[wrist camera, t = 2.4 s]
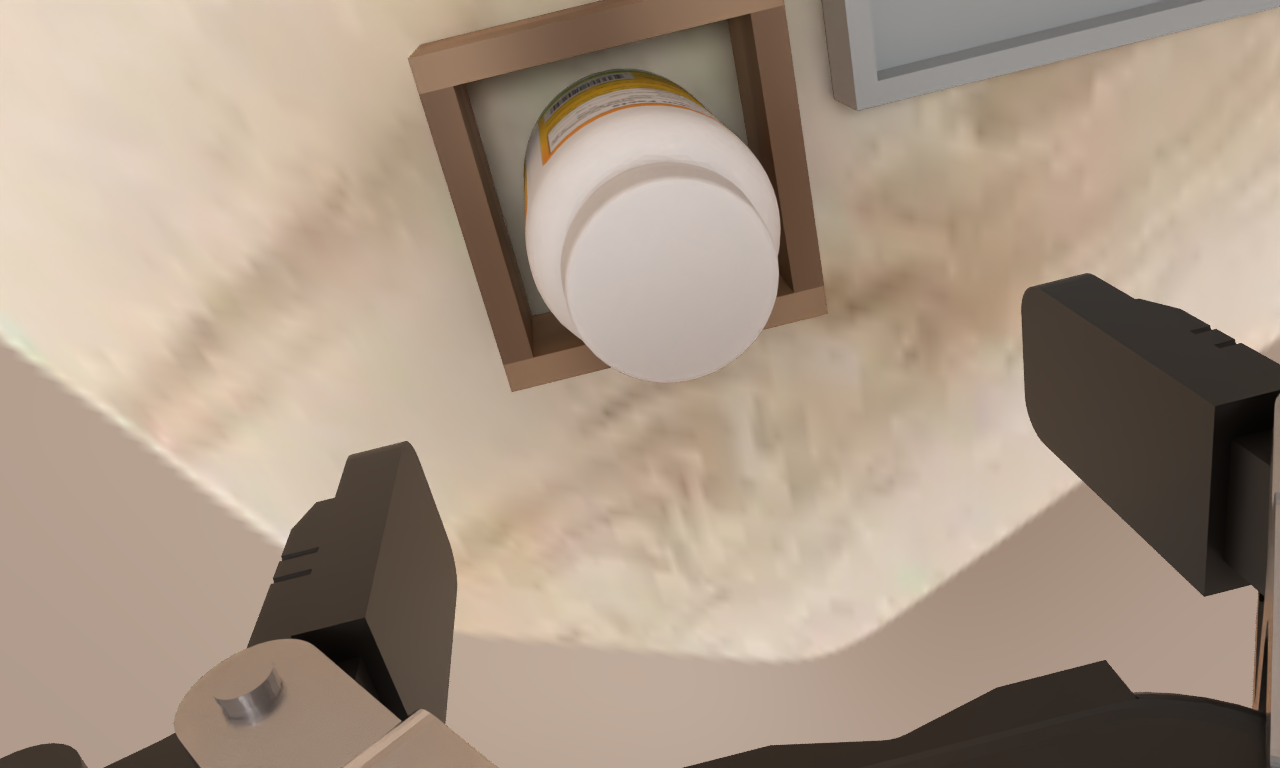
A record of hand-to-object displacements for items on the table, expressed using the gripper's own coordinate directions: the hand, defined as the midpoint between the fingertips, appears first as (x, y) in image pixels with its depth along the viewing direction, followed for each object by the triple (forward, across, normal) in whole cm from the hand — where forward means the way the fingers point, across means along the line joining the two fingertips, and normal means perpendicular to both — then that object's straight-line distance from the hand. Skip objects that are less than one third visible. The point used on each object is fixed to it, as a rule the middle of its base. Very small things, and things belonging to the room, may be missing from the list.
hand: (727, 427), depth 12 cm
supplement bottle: (+15, 0, 0) cm, 16 cm away
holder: (+15, 0, 0) cm, 15 cm away
